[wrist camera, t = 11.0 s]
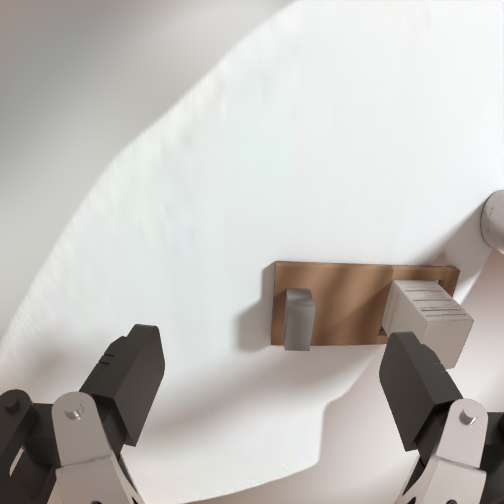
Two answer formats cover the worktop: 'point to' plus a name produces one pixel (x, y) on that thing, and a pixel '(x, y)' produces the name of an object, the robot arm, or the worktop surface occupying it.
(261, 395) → the worktop surface
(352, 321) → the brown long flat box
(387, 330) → the supplement box
